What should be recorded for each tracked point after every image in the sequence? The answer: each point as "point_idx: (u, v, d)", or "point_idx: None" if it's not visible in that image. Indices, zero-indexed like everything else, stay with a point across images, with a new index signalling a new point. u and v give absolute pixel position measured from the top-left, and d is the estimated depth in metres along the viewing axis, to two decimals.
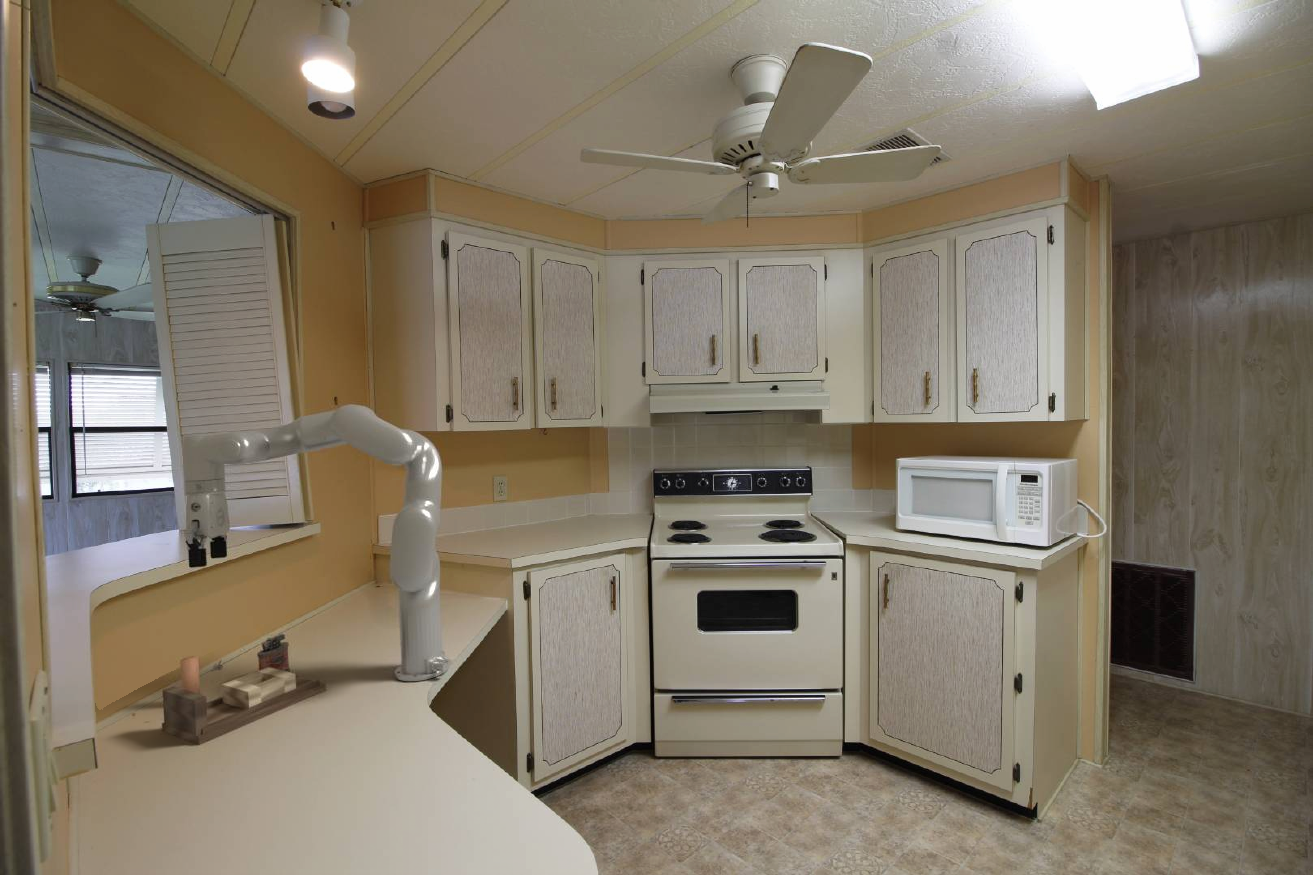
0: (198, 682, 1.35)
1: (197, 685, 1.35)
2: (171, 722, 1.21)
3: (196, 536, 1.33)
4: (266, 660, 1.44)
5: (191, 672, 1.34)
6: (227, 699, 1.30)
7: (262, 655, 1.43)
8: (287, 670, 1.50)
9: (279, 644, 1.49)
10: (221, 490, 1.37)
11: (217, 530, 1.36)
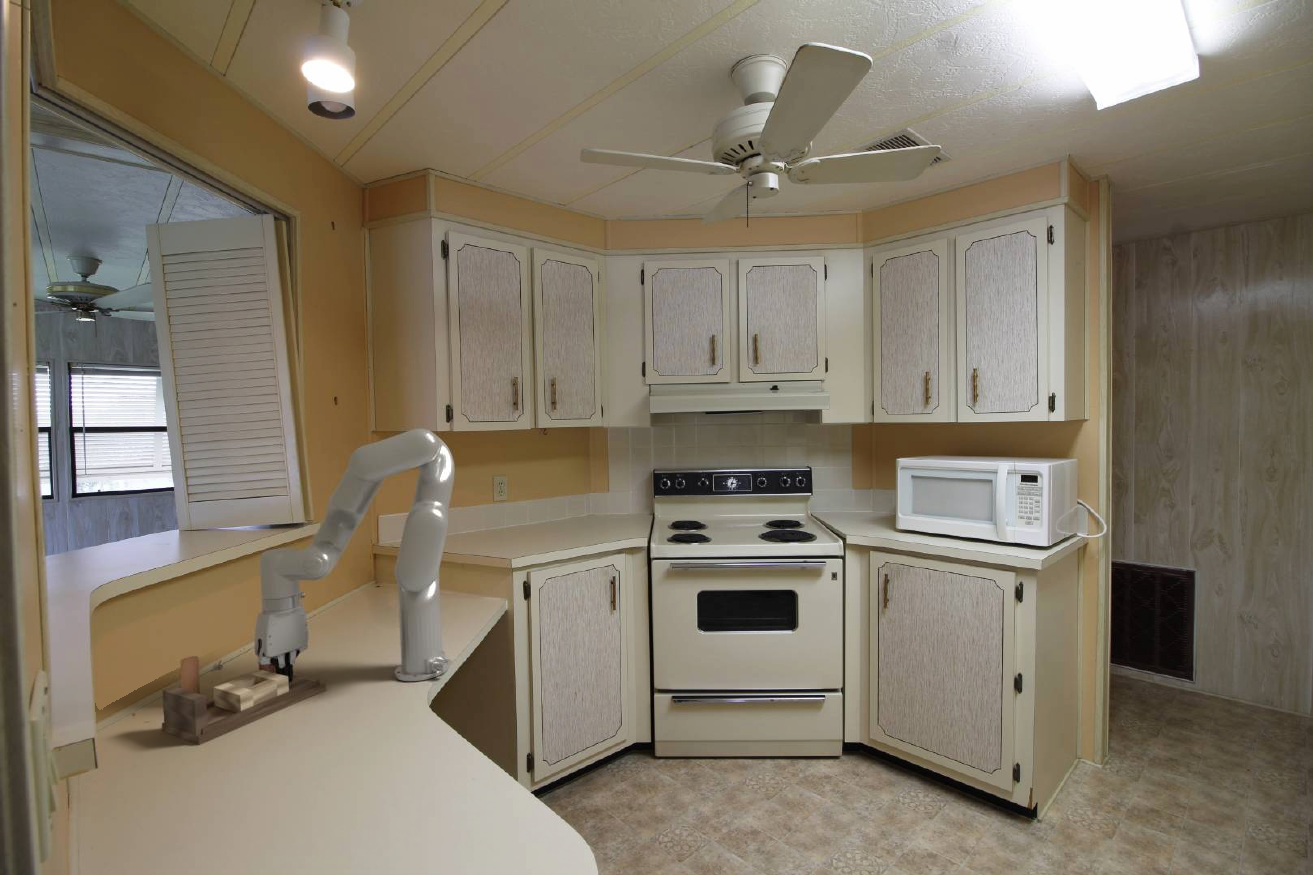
0: (198, 682, 1.35)
1: (197, 685, 1.35)
2: (171, 722, 1.21)
3: None
4: None
5: (191, 672, 1.34)
6: (218, 702, 1.28)
7: None
8: None
9: None
10: None
11: None
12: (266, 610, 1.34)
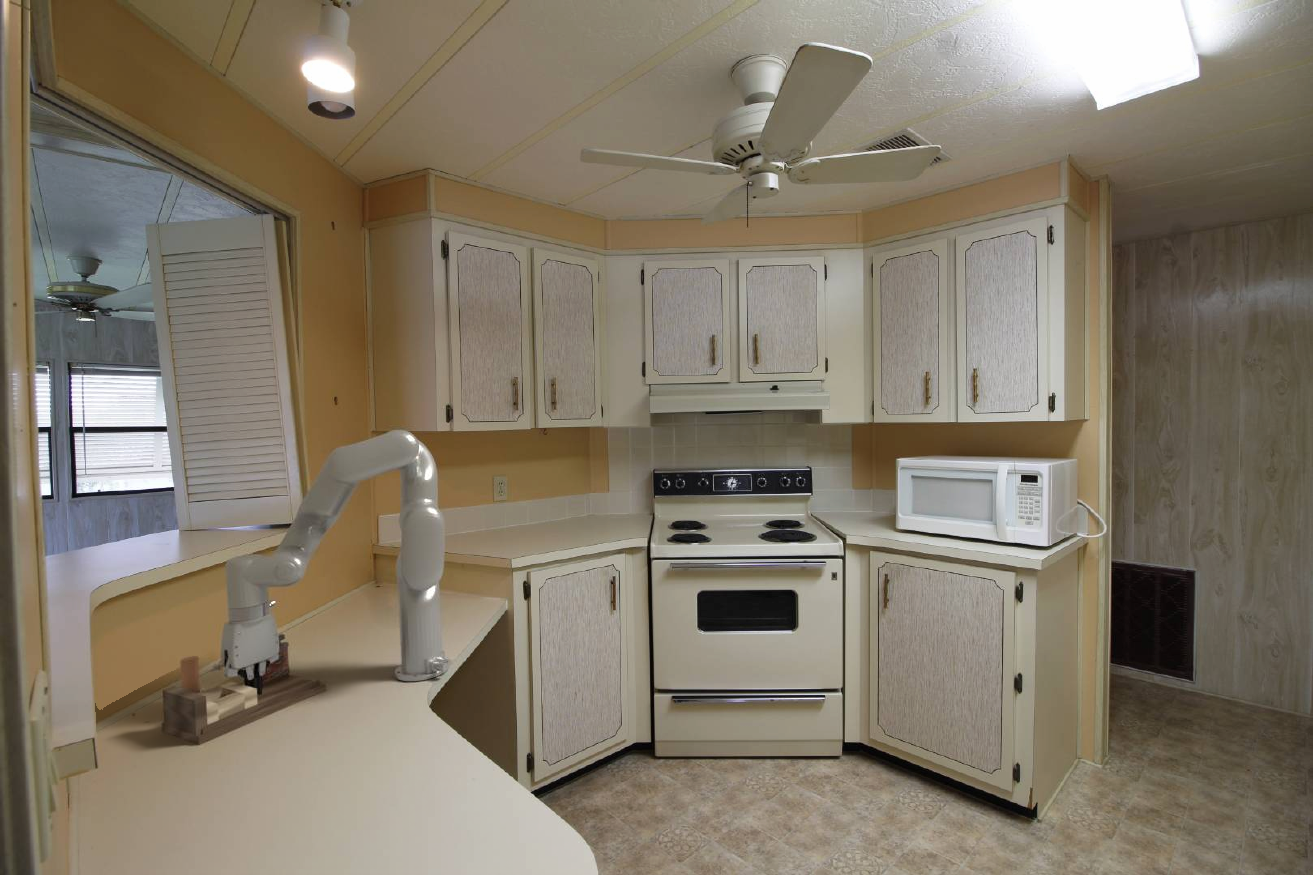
0: (198, 682, 1.35)
1: (197, 685, 1.35)
2: (171, 722, 1.21)
3: None
4: None
5: (191, 672, 1.34)
6: None
7: None
8: (287, 670, 1.50)
9: (279, 644, 1.49)
10: None
11: None
12: (232, 620, 1.28)
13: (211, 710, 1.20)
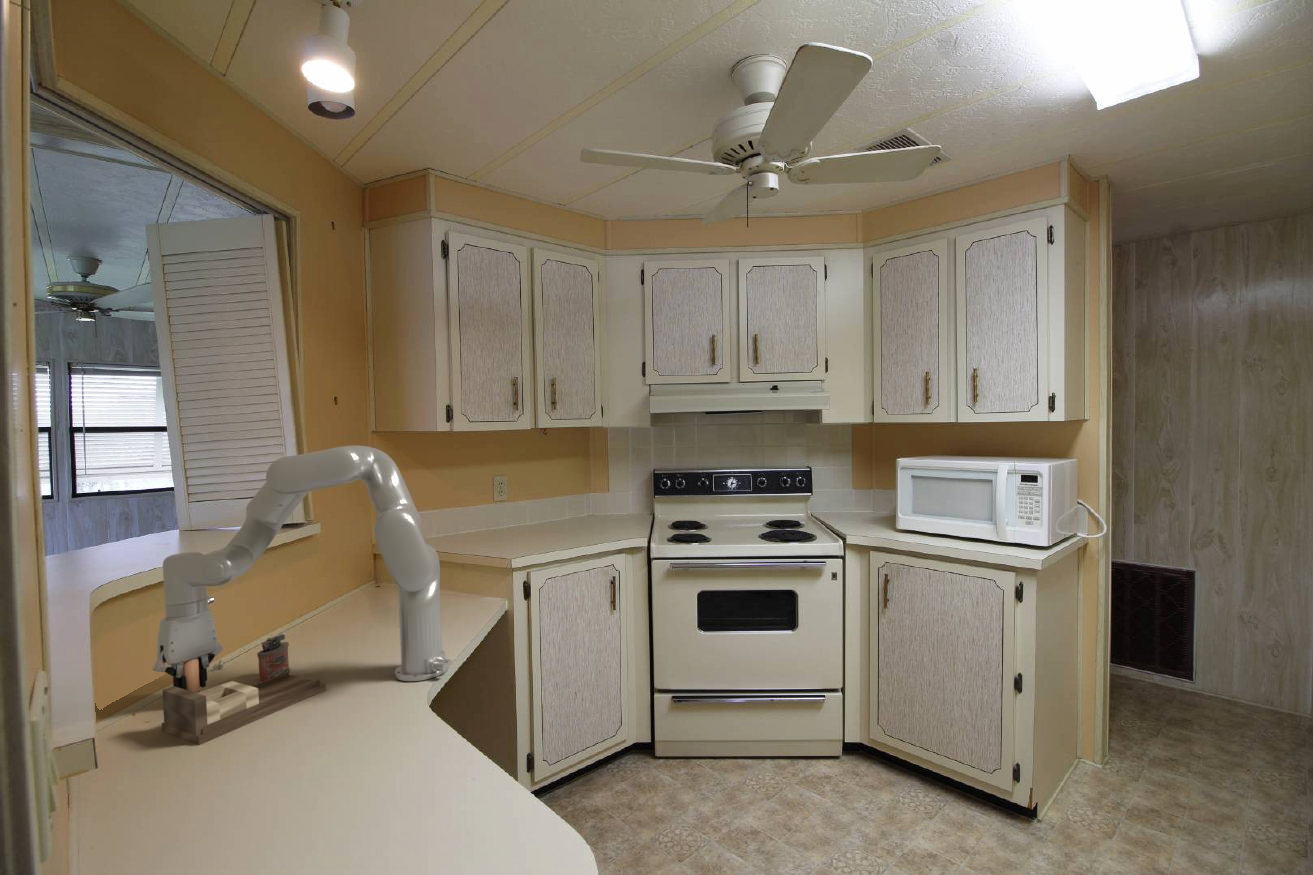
0: (198, 682, 1.35)
1: (197, 685, 1.35)
2: (171, 722, 1.21)
3: None
4: (266, 660, 1.44)
5: (191, 672, 1.34)
6: None
7: (262, 655, 1.43)
8: (287, 670, 1.50)
9: (279, 644, 1.49)
10: None
11: None
12: (169, 616, 1.31)
13: (213, 709, 1.20)
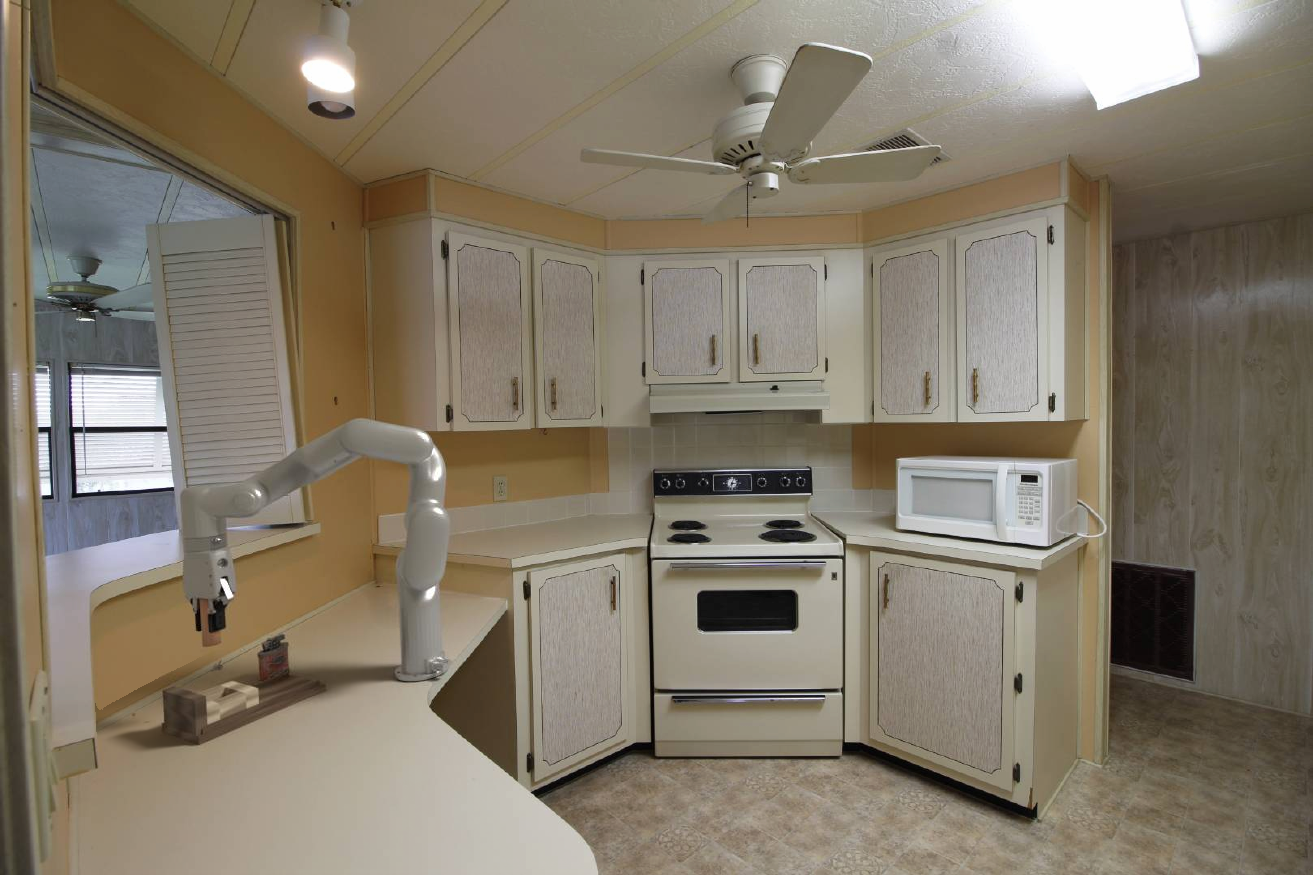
0: None
1: (205, 628, 1.26)
2: (171, 722, 1.21)
3: (217, 598, 1.26)
4: (266, 660, 1.44)
5: (200, 612, 1.26)
6: None
7: (262, 655, 1.43)
8: (287, 670, 1.50)
9: (279, 644, 1.49)
10: None
11: None
12: None
13: (213, 709, 1.20)
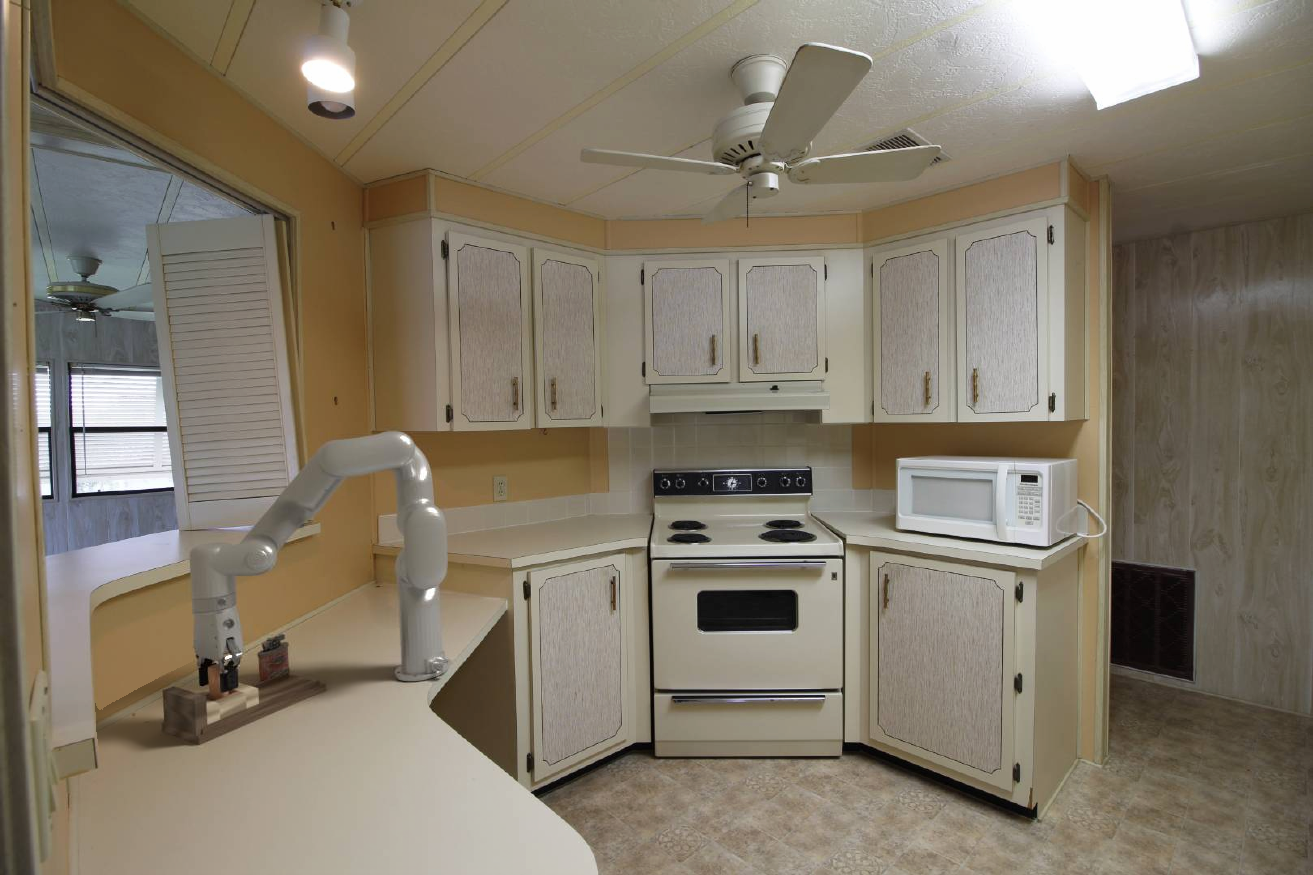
0: (215, 695, 1.24)
1: (213, 697, 1.24)
2: (171, 722, 1.21)
3: (227, 657, 1.23)
4: (266, 660, 1.44)
5: None
6: None
7: (262, 655, 1.43)
8: (287, 670, 1.50)
9: (279, 644, 1.49)
10: None
11: None
12: None
13: (213, 709, 1.20)
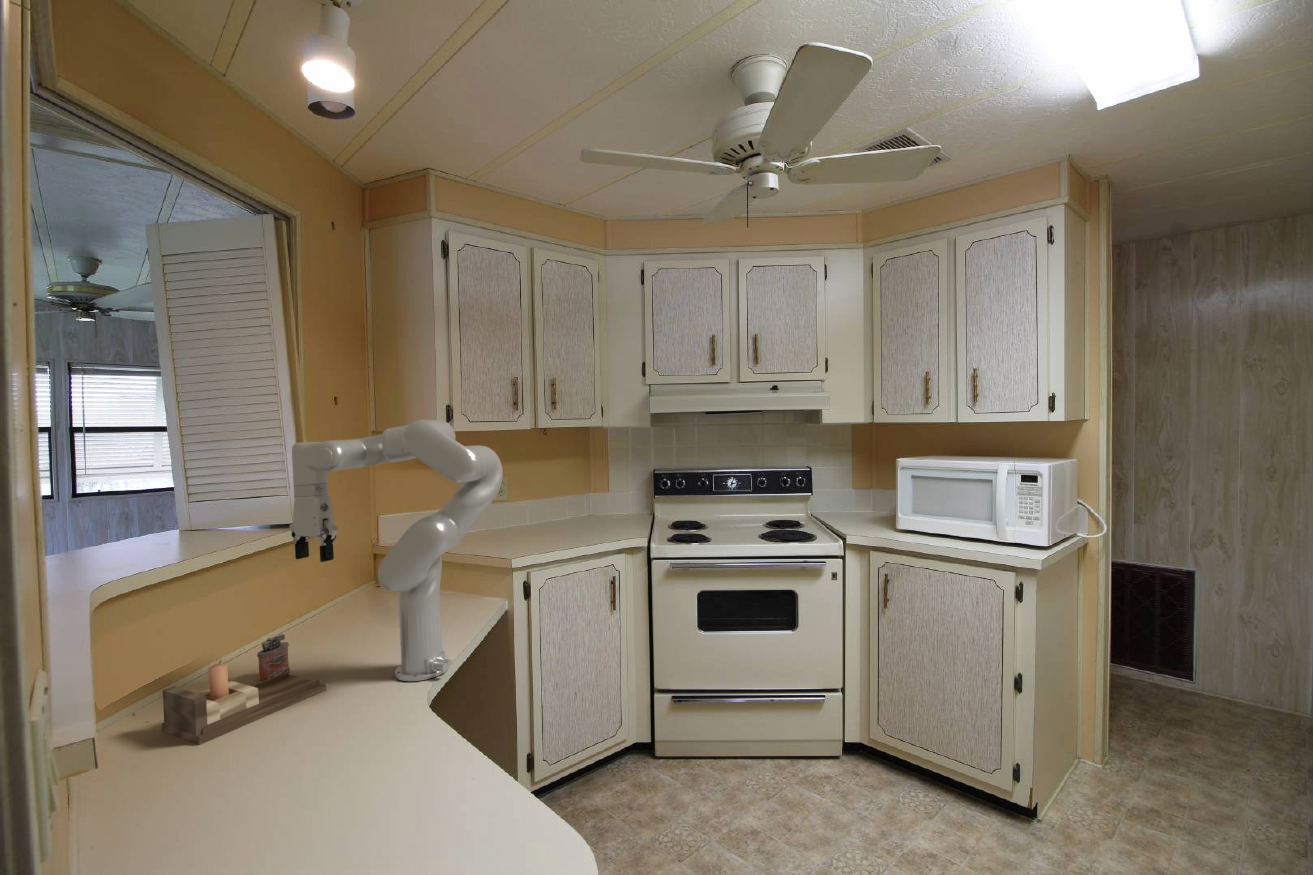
0: (215, 695, 1.24)
1: (213, 698, 1.24)
2: (171, 722, 1.21)
3: (324, 533, 1.48)
4: (266, 660, 1.44)
5: (209, 682, 1.24)
6: None
7: (262, 655, 1.43)
8: (287, 670, 1.50)
9: (279, 644, 1.49)
10: None
11: None
12: None
13: (213, 709, 1.20)
